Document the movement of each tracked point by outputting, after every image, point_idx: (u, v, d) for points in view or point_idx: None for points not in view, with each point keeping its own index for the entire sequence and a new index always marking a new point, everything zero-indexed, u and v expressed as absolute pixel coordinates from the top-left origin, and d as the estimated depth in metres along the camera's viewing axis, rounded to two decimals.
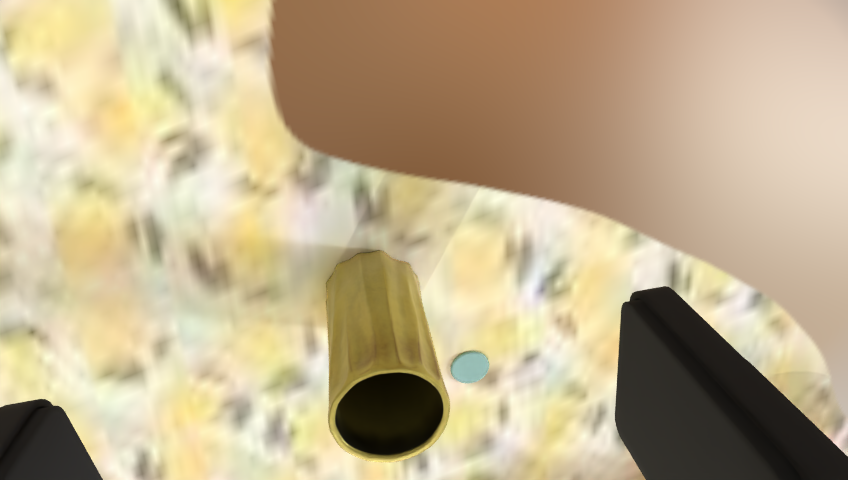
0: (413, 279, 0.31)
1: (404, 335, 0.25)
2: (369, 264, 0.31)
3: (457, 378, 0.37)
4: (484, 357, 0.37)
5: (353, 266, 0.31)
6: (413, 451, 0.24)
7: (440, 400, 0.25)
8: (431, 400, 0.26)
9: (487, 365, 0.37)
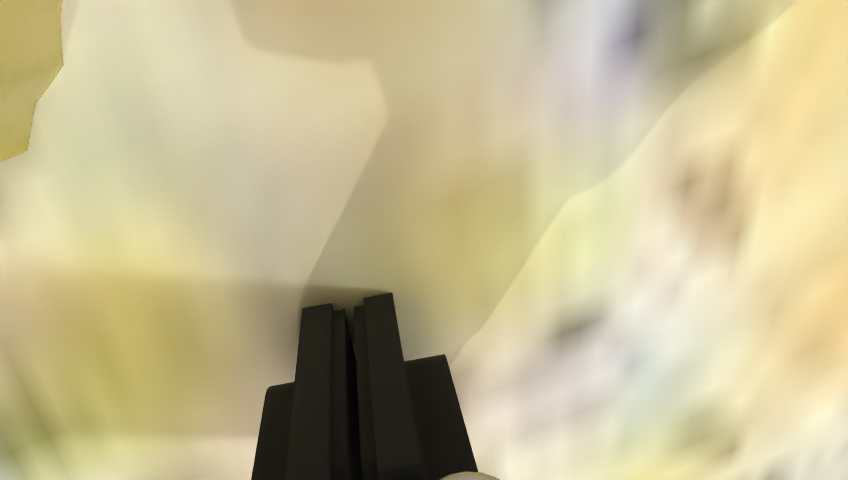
0: None
1: None
2: None
3: None
4: None
5: None
6: None
7: None
8: None
9: None
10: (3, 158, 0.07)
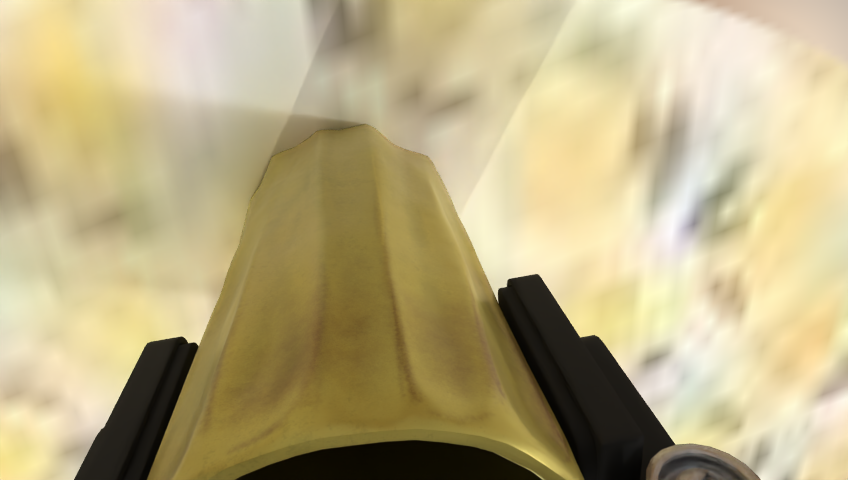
0: (441, 184, 0.14)
1: (428, 293, 0.07)
2: (340, 145, 0.13)
3: None
4: None
5: (305, 151, 0.14)
6: None
7: None
8: None
9: None
10: None
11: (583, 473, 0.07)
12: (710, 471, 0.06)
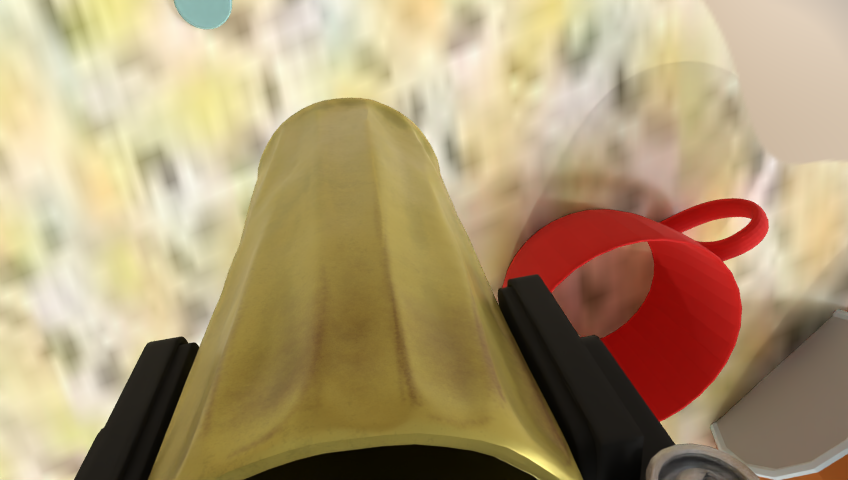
0: (441, 185, 0.14)
1: (428, 295, 0.07)
2: (340, 146, 0.13)
3: (186, 17, 0.26)
4: None
5: (305, 152, 0.14)
6: None
7: None
8: None
9: None
10: None
11: (583, 473, 0.07)
12: (710, 471, 0.06)
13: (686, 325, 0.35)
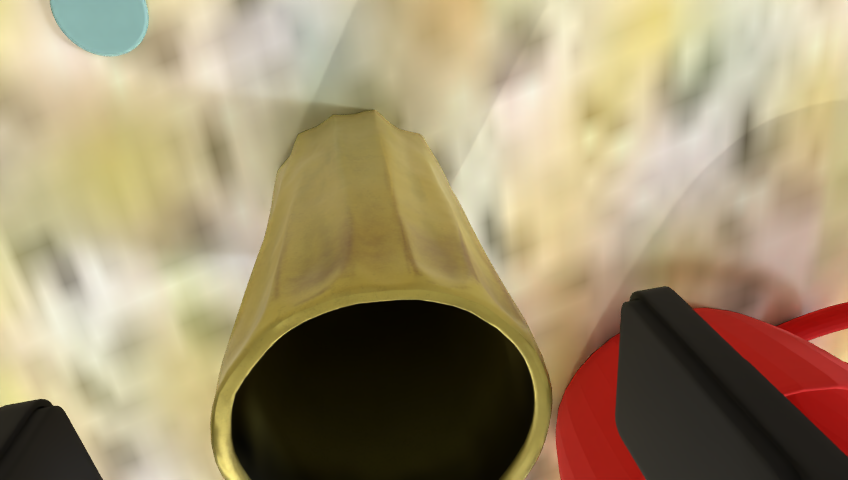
0: (437, 165, 0.16)
1: (426, 226, 0.10)
2: (353, 132, 0.16)
3: (74, 37, 0.16)
4: None
5: (323, 138, 0.16)
6: None
7: (517, 390, 0.10)
8: (490, 392, 0.11)
9: (140, 4, 0.16)
10: None
11: None
12: None
13: None
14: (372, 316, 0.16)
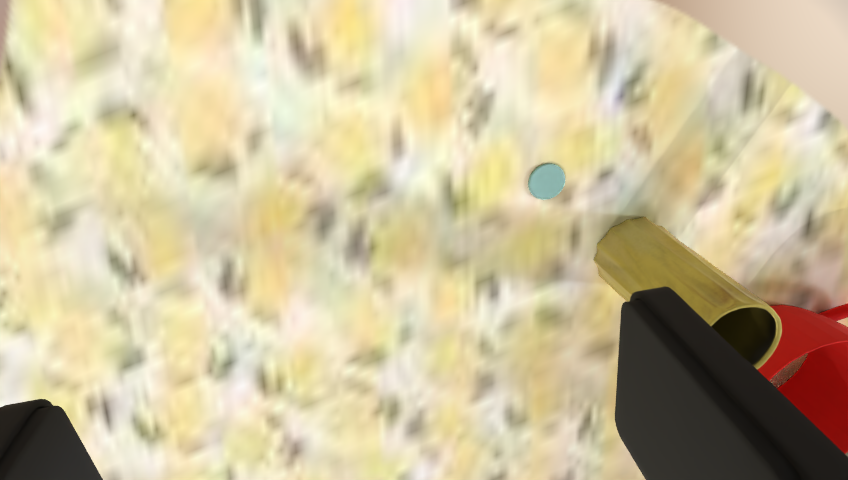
0: None
1: (732, 283, 0.32)
2: (653, 233, 0.38)
3: (534, 193, 0.38)
4: (561, 170, 0.37)
5: (637, 235, 0.38)
6: None
7: (762, 333, 0.32)
8: (746, 335, 0.33)
9: (563, 179, 0.38)
10: None
11: None
12: None
13: (841, 390, 0.47)
14: None
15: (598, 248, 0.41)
